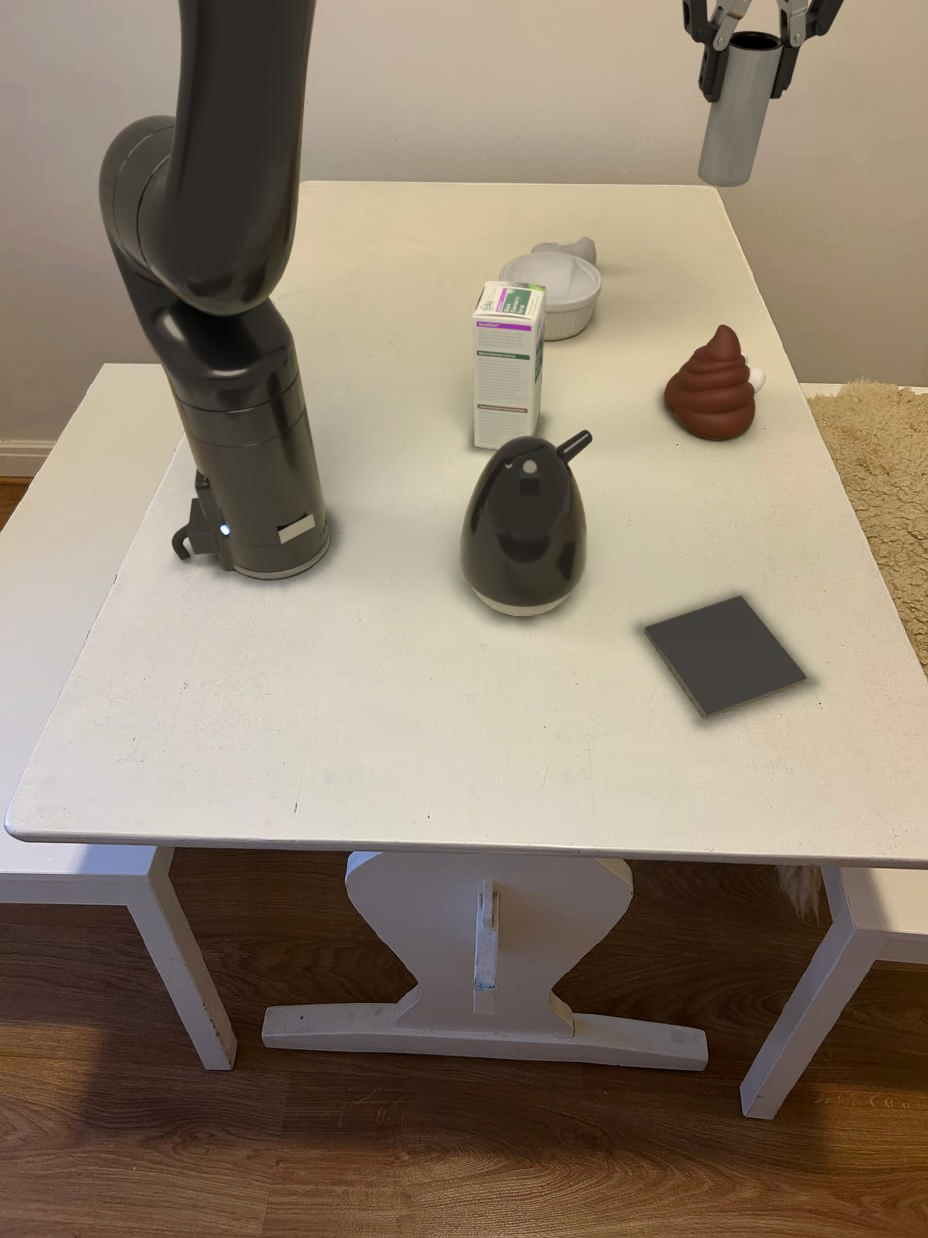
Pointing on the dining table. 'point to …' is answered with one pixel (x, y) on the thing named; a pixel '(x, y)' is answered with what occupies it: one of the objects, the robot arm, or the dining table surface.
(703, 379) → the poop emoji
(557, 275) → the ramekin
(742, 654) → the slate coaster
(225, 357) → the robot arm
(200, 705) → the dining table surface
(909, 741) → the dining table surface
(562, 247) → the pale two-lobed sculpture
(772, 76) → the planter
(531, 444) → the pump dispenser
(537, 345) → the syrup box
